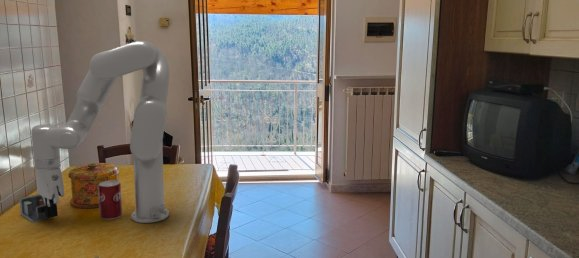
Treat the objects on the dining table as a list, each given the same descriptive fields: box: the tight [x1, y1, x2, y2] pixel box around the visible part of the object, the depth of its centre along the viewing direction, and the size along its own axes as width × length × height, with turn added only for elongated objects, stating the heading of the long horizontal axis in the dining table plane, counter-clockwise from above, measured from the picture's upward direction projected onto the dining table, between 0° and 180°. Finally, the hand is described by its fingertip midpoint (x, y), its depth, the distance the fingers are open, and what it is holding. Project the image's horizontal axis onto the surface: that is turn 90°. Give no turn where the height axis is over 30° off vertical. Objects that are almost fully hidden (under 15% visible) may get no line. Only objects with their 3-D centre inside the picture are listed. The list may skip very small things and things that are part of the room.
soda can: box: [97, 180, 123, 221], centre depth 157 cm, size 7×7×12 cm
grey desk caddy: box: [18, 193, 49, 223], centre depth 157 cm, size 10×8×6 cm
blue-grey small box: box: [36, 199, 46, 219], centre depth 154 cm, size 5×6×5 cm
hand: (51, 216), depth 151 cm, fingers closed
